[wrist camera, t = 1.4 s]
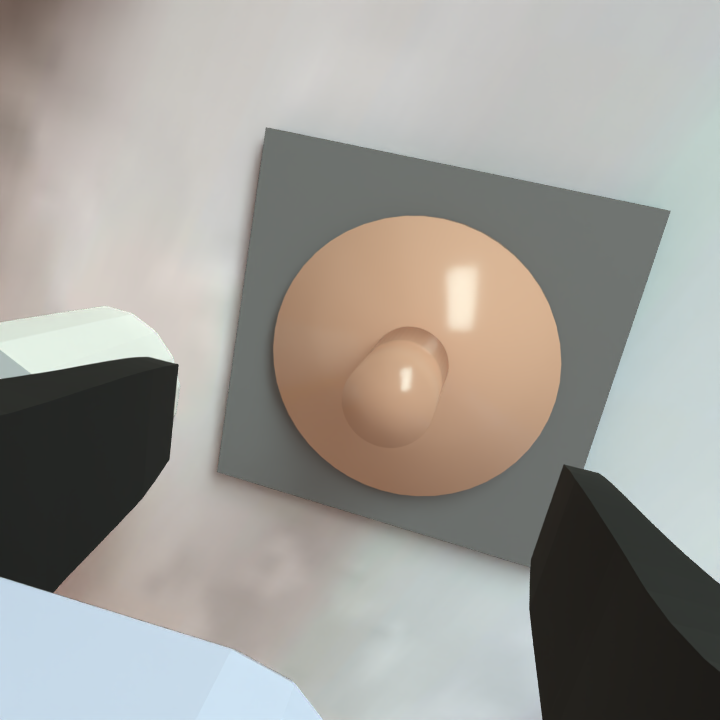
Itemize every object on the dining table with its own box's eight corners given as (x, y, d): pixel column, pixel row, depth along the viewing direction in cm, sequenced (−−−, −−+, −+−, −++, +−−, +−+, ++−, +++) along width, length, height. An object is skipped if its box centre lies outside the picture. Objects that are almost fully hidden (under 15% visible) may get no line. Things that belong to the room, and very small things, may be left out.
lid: (516, 519, 21) (516, 601, 17) (261, 447, 23) (205, 506, 19) (598, 251, 19) (621, 272, 15) (302, 188, 20) (247, 190, 16)
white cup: (220, 340, 23) (101, 405, 17) (163, 492, 25) (40, 601, 19) (56, 257, 24) (-120, 287, 17) (16, 413, 26) (-153, 491, 20)
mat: (547, 559, 22) (548, 572, 22) (226, 462, 24) (217, 471, 24) (664, 210, 19) (670, 211, 18) (275, 129, 21) (265, 127, 20)
